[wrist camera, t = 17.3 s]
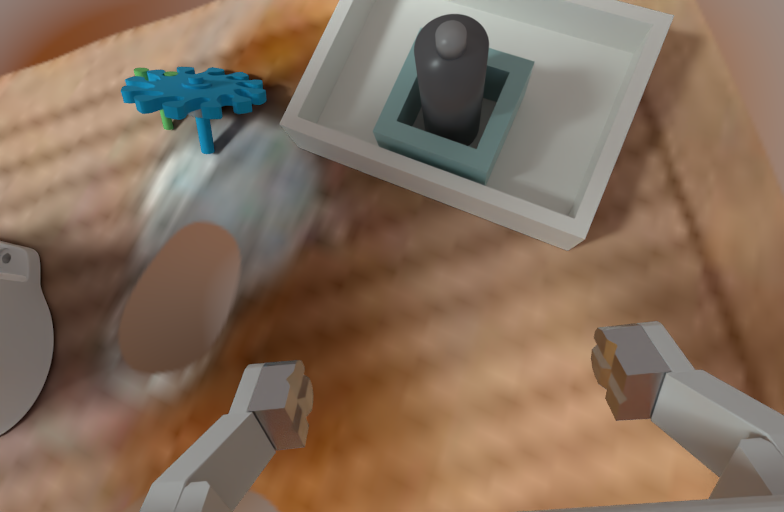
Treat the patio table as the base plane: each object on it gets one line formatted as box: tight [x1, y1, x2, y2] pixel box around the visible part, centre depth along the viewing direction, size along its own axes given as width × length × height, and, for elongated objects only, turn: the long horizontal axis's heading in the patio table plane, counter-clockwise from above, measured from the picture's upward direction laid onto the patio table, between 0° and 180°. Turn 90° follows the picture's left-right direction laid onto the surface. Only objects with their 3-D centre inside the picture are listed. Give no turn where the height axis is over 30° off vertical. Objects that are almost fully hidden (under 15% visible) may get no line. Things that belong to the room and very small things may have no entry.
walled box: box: [279, 0, 674, 251], centre depth 30 cm, size 22×16×5 cm
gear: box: [121, 67, 267, 154], centre depth 33 cm, size 11×6×10 cm
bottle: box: [414, 14, 489, 146], centre depth 27 cm, size 4×4×10 cm
